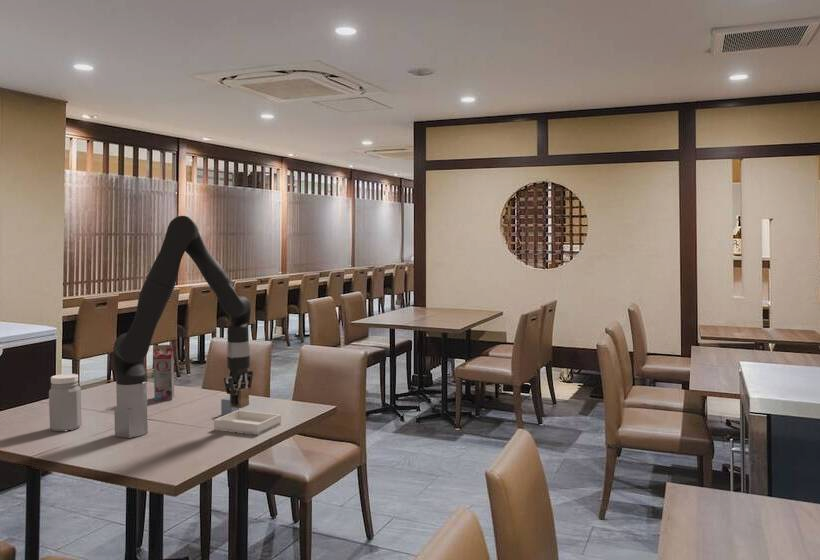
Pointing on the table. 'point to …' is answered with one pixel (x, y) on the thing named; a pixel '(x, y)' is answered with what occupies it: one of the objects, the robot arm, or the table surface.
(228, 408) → the slate block
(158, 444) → the table surface
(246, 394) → the walnut block
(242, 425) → the tray
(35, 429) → the table surface
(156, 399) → the printed cardboard box
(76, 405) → the jar
